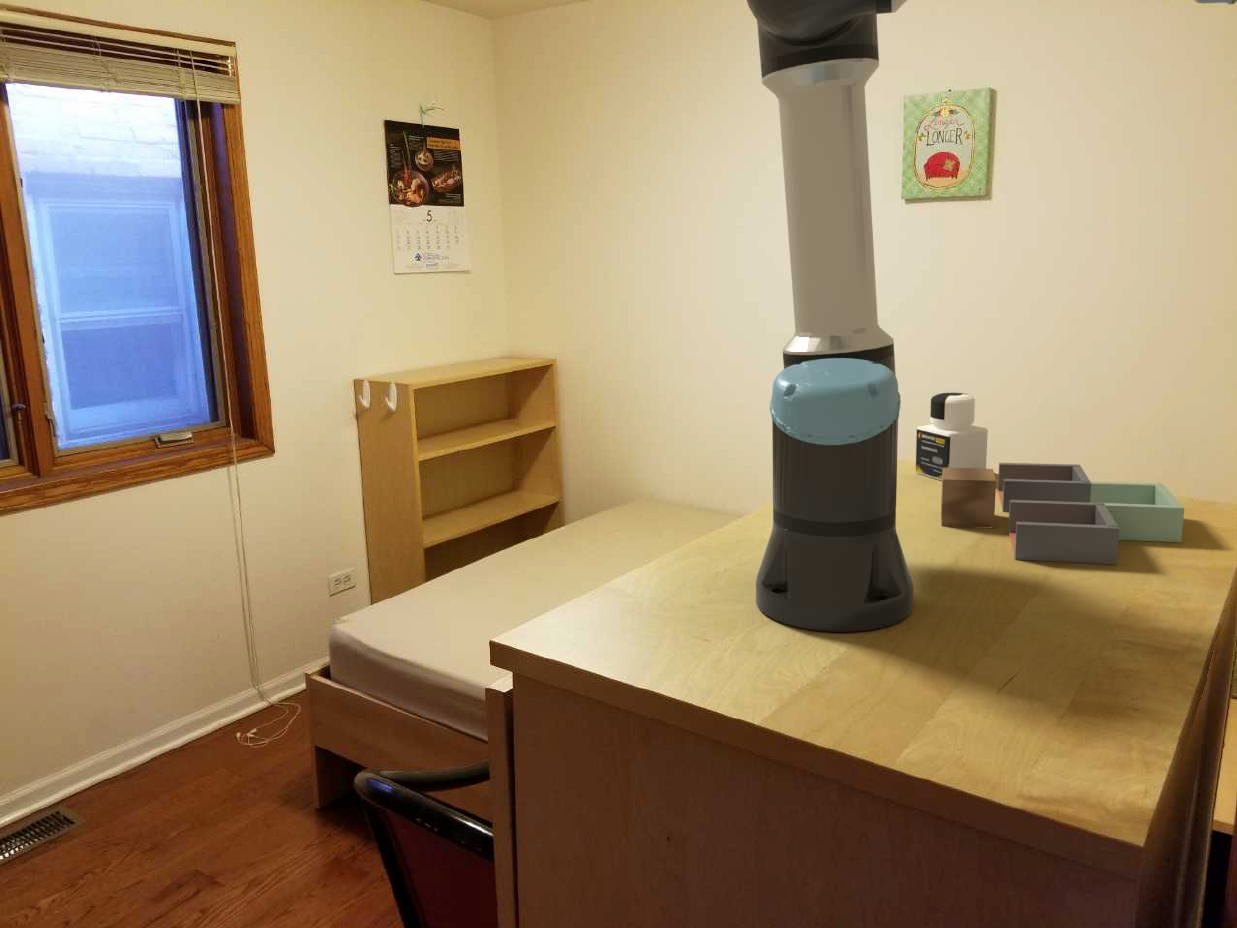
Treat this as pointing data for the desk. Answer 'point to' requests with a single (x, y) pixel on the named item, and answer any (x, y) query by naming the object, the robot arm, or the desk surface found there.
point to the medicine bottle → (950, 437)
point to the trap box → (1081, 513)
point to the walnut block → (968, 497)
